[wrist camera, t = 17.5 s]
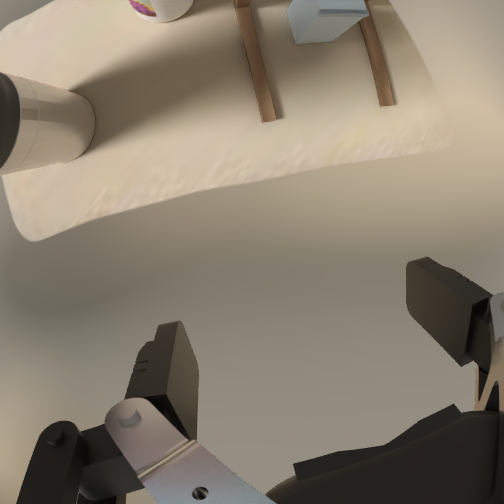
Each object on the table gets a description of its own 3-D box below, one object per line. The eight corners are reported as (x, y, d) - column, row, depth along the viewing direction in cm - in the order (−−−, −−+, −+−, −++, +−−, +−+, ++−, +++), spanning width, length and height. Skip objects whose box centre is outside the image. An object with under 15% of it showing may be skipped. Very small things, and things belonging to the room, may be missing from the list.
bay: (262, 122, 37) (273, 117, 29) (233, 2, 31) (237, -27, 23) (389, 105, 37) (422, 100, 30) (360, -4, 32) (386, -27, 24)
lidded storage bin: (294, 45, 34) (320, 14, 23) (285, 10, 32) (307, -28, 22) (333, 42, 34) (369, 14, 23) (323, 8, 32) (355, -26, 22)
